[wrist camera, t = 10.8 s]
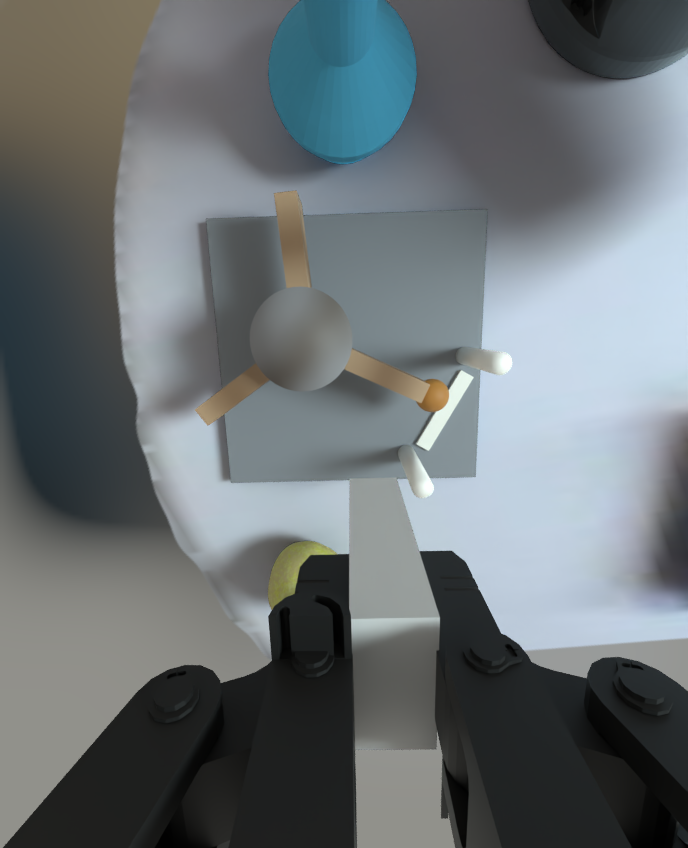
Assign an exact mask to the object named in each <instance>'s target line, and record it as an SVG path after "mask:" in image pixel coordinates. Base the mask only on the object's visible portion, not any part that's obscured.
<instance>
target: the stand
mask: <svg viewBox="0 0 688 848" xmlns="http://www.w3.org/2000/svg"><path fill="white" fill-rule="evenodd" d="M303 219H304V227H305V236H306V244H307V252H308V261H309V269H310V277H311V286H312V288H314V289H317V290H319V291H322V292H324V293H325V294H327V295H329V296H330V297H331V298H333V299H334V300H335V301H336V302H337V303H338V304H339V305H340V306H341V308H342V309H343V311H344V312H345V314H346V316H347V318H348V320H349V323H350V326H351V330H352V348H353V349H355V350H358V351H360V352H362V353H364V354H367V355H369V356H371V357H373V358H375V359H378V360H380V361H382V362H384V363H387V364H389V365H391V366H393V367H395V368H398V369H400V370H402V371H404V372H407V373H409V374H411V375H413V376H416V377H418V378H420V379H422V380H424V381H425V380H427V379H437V380H440V381H442V382H443V383H444V384H445V385H446V386H447V388H448V391H449V400H448V402H447V404H446V406H445V407H444V408H443V409H441V410H439V411H437V412H427V411H425V410H423V409H421V408H420V407H419V406H418V404H417V402H416V401H415V400H412V399H410V398H408V397H406V396H403V395H401V394H399V393H397V392H394V391H392V390H390V389H388V388H385V387H383V386H381V385H379V384H376V383H374V382H372V381H370V380H367V379H365V378H363V377H361V376H358V375H356V374H354V373H352V372H349V371H347V370H345V369H344V370H343V371H342V372H341V374H340V375H339V376H338V377H337V378H336V379H335V380H333V381H332V382H331V383H329V384H328V385H326V386H324V387H322V388H319V389H316V390H312V391H302V392H301V391H293V390H288V389H285V388H283V387H280V386H278V385H276V384H275V383H273V382H272V381H271V380H269V381H268V382H267V383H265V384H264V385H263V386H261V387H260V388H259V389H257V390H256V391H255V392H253V393H252V394H251V395H249V396H248V397H247V398H245V399H244V400H243V401H241V402H240V403H239V404H237V405H236V406H235V407H233V408H232V409H231V410H229V411H228V412H227V413H225V414H224V415H225V425H226V436H227V446H228V457H229V467H230V478H231V483H246V482H288V481H330V480H350V479H354V478H397V479H408V481H409V484H410V486H411V489H412V491H413V493H414V495H415V496H416V497H418V498H427V497H429V496H430V495H431V494H432V492H433V489H434V486H433V483H432V482H431V480H430V478H458V477H476V456H477V433H478V411H479V388H480V370H483V371H486V372H489V373H493V374H496V375H503V374H505V373H507V372H508V371H509V370H510V368H511V366H512V359H511V357H510V356H509V355H508V354H507V353H505V352H499V351H492V350H485V349H481V343H482V321H483V298H484V276H485V253H486V231H487V209H475V210H446V211H416V212H387V213H358V214H328V215H303ZM206 225H207V235H208V246H209V257H210V267H211V278H212V288H213V299H214V309H215V320H216V330H217V341H218V351H219V362H220V372H221V383H222V389H223V388H224V387H225V386H227V385H228V384H229V383H231V382H232V381H233V380H234V379H236V378H237V377H238V376H240V375H241V374H242V373H244V372H245V371H246V370H248V369H249V368H250V367H251V366H253V365H254V364H255V363H256V362H255V360H254V358H253V355H252V351H251V347H250V329H251V324H252V321H253V318H254V316H255V314H256V312H257V310H258V309H259V307H260V306H261V305H262V304H263V302H264V301H265V300H267V299H268V298H269V297H270V296H272V295H273V294H274V293H276V292H278V291H280V290H283V289H286V288H287V287H286V280H285V272H284V265H283V257H282V250H281V242H280V235H279V227H278V219H277V216H269V217H240V218H211V219H206Z"/></svg>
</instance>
